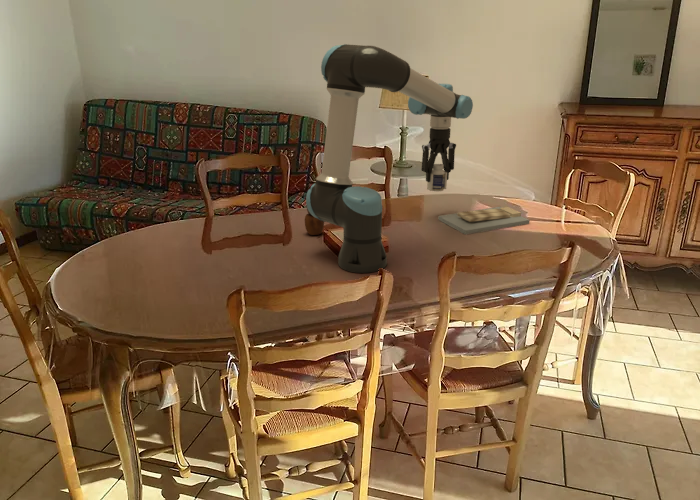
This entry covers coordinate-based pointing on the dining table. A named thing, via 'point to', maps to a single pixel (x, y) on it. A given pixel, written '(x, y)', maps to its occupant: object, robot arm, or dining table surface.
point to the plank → (483, 215)
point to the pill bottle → (438, 177)
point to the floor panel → (484, 222)
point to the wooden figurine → (313, 224)
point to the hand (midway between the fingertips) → (436, 189)
